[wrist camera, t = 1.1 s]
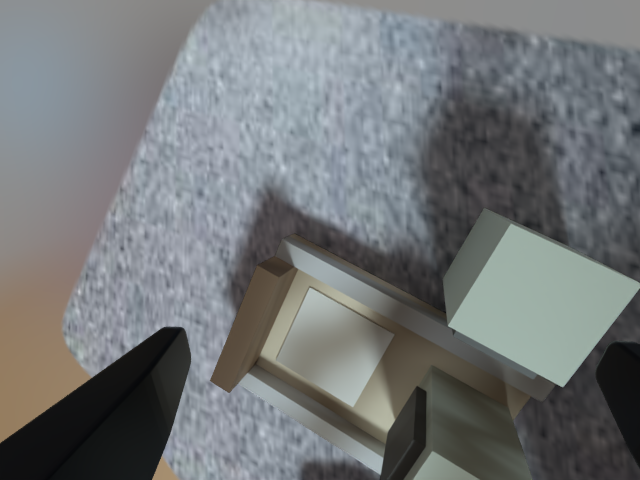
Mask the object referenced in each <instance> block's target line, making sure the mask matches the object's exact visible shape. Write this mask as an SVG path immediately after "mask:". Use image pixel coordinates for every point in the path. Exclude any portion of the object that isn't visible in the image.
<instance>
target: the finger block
mask: <svg viewBox="0 0 640 480" xmlns="http://www.w3.org/2000/svg"><path fill="white" fill-rule="evenodd" d="M443 288H444V297H445V306H446V315H447V323H448V326H449V327H451V328H452V333H453V337H455V338H457V339H459V340H461V341H463V342H464V343H466V344H468V345H470V346H472V347H474V348H476V349H477V350H479V351H481V352H483V353H485V354H487V355H489V356H490V357H492V358H494V359H496V360H498V361H500V362H502V363H503V364H505V365H507V366H509V367H511V368H513V369H514V370H516V371H518V372H520V373H522V374H524V375H526V376H527V377H529V378H531V379H533V380H534V378H535V377H536V376H537V374H538V375H540V376H542V377H544V378H546V379H548V380H550V381H552V382H553V383H555V384H557V385H559V386H561V387H564V386H565V384H566V383H567V382H568V380H569V379H570V378H571V377H572V375H573V374H574V373H575V371H576V370H577V369H578V368H579V366H580V365H581V364H582V362H583V361H584V360H585V358H586V357H587V356H588V355H589V353H590V352H591V351H592V349H593V348H594V347H595V346H596V344H597V343H598V342H599V340H600V339H601V338H602V336H603V335H604V334H605V333H606V331H607V330H608V329H609V327H610V326H611V325H612V324H613V322H614V321H615V320H616V318H617V317H618V316H619V315H620V313H621V312H622V311H623V309H624V308H625V307H626V305H627V304H628V303H629V302H630V300H631V299H632V298H633V296H634V295H635V294H636V293H637V291H638V290H639V289H640V283H639V282H637V281H635V280H633V279H631V278H629V277H627V276H625V275H624V274H622V273H620V272H618V271H616V270H614V269H612V268H610V267H608V266H606V265H604V264H602V263H600V262H598V261H596V260H594V259H592V258H590V257H588V256H586V255H584V254H583V253H581V252H579V251H577V250H575V249H573V248H571V247H569V246H567V245H564V244H562V243H560V242H558V241H556V240H554V239H551V238H549V237H547V236H545V235H543V234H541V233H538V232H536V231H534V230H532V229H530V228H527V227H525V226H523V225H521V224H519V223H517V222H514V221H512V220H510V219H508V218H506V217H504V216H501V215H499V214H497V213H495V212H493V211H490V210H488V209H486V208H484V209H483V211H482V212H481V214H480V216H479V218H478V219H477V221H476V223H475V224H474V226H473V228H472V230H471V231H470V233H469V235H468V236H467V238H466V240H465V241H464V243H463V245H462V247H461V248H460V250H459V252H458V253H457V255H456V257H455V259H454V260H453V262H452V264H451V265H450V267H449V269H448V271H447V272H446V274H445V276H444V277H443Z"/></svg>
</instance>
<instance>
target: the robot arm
mask: <svg viewBox="0 0 640 480" xmlns="http://www.w3.org/2000/svg"><path fill="white" fill-rule="evenodd" d="M190 364H191V352H190V348H189V344H188V339H187V335H186V331H185V330H184V328H182V327H163V328H162V329H160V330H159V331H157V332H156V333H154V334H153V335H152V336H150V337H149V338H147V339H146V340H145V341H143V342H142V343H140V344H139V345H138V346H136V347H135V348H133V349H132V350H130V351H129V352H128V353H126V354H125V355H123V356H122V357H121V358H119V359H118V360H116V361H115V362H114V363H112V364H111V365H109V366H108V367H107V368H105V369H104V370H102V371H101V372H100V373H98V374H97V375H95V376H94V377H92V378H91V379H90V380H88V381H87V382H86V383H84V384H83V385H81V386H80V387H78V388H77V389H76V390H74V391H73V392H71V393H70V394H69V395H67V396H66V397H64V398H63V399H62V400H60V401H59V402H57V403H56V404H55V405H53V406H52V407H50V408H49V409H47V410H46V411H45V412H43V413H42V414H41V415H39V416H38V417H36V418H35V419H33V420H32V421H31V422H29V423H28V424H26V425H25V426H24V427H22V428H21V429H19V430H18V431H17V432H15V433H14V434H12V435H11V436H9V437H8V438H7V439H5V440H4V441H2V442H1V443H0V480H152V478H153V476H154V474H155V471H156V469H157V466H158V464H159V461H160V459H161V456H162V454H163V451H164V449H165V446H166V444H167V441H168V438H169V436H170V433H171V430H172V426H173V423H174V420H175V416H176V413H177V409H178V406H179V402H180V399H181V395H182V392H183V389H184V385H185V382H186V378H187V375H188V371H189V368H190ZM595 374H596V379H597V382H598V384H599V386H600V388H601V391H602V393H603V395H604V397H605V399H606V401H607V403H608V406H609V408H610V410H611V412H612V414H613V416H614V418H615V420H616V423H617V425H618V427H619V429H620V431H621V433H622V435H623V438H624V440H625V442H626V444H627V446H628V448H629V450H630V452H631V454H632V456H633V458H634V459H635V461H636V463H637V465H638V467H639V468H640V344H638V343H635V342H626V341H614V342H611V343H610V344H609V345H608V346H607V348H606V350H605V352H604V354H603V355H602V357H601V359H600V361H599V363H598V365H597V367H596V371H595Z"/></svg>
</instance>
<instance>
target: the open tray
mask: <svg viewBox="0 0 640 480" xmlns="http://www.w3.org/2000/svg"><path fill="white" fill-rule="evenodd" d="M210 381H211V382H213V383H214V384H216V385H217V386H219V387H220V388H222V389H223V390H225V391H227V392H228V393H230V392H231V391H232V389H233V388H234V387H235V386H236V385H237V384H239V385H241V386H242V387H244V388H245V389H247V390H248V391H250V392H252V393H253V394H255V395H256V396H258V397H259V398H261V399H263V400H264V401H266V402H267V403H269V404H270V405H272V406H274V407H275V408H277V409H278V410H280V411H281V412H283V413H284V414H286V415H288V416H289V417H291V418H292V419H294V420H295V421H297V422H299V423H300V424H302V425H303V426H305V427H306V428H308V429H310V430H311V431H313V432H314V433H316V434H317V435H319V436H321V437H322V438H324V439H325V440H327V441H328V442H330V443H331V444H333V445H335V446H336V447H338V448H339V449H341V450H342V451H344V452H346V453H347V454H349V455H350V456H352V457H353V458H355V459H357V460H358V461H360V462H361V463H363V464H364V465H366V466H367V467H369V468H371V469H372V470H374V471H375V472H377V473H378V474H380V475H381V476H380V480H533V479H532V476H531V473H530V470H529V467H528V464H527V461H526V458H525V455H524V452H523V449H522V446H521V443H520V440H519V438H518V435H517V432H516V429H515V426H514V423H513V420H514V419H515V417H516V416H517V415H518V413H519V412H520V411H521V409H522V408H523V407H524V405H525V404H526V403H527V401H528V400H529V399H530V397H531V396H532V397H533V398H535V399H537V400H539V401H541V402H543V401H544V400H545V398H546V397H547V396H548V395H549V393H550V392H551V391H552V389H553V388H554V387H555V384H554V383H553V382H552V381H550V380H548V379H546V378H544V377H542V376H540V375H538V374H537V376H536V377H535V378H534V380H533V379H531V378H529V377H527V376H526V375H524V374H522V373H520V372H518V371H516V370H514V369H513V368H511V367H509V366H507V365H505V364H503V363H502V362H500V361H498V360H496V359H494V358H492V357H490V356H489V355H487V354H485V353H483V352H481V351H479V350H477V349H476V348H474V347H472V346H470V345H468V344H466V343H464V342H463V341H461V340H459V339H457V338H455V337H453V333H452V328H451V327H449V326H448V323H447V315H446V313H444V312H442V311H440V310H439V309H437V308H435V307H433V306H431V305H429V304H427V303H425V302H423V301H421V300H420V299H418V298H416V297H414V296H412V295H410V294H408V293H406V292H404V291H402V290H401V289H399V288H397V287H395V286H393V285H391V284H389V283H387V282H385V281H383V280H382V279H380V278H378V277H376V276H374V275H372V274H370V273H368V272H366V271H365V270H363V269H361V268H359V267H357V266H355V265H353V264H351V263H349V262H347V261H346V260H344V259H342V258H340V257H338V256H336V255H334V254H332V253H330V252H328V251H327V250H325V249H323V248H321V247H319V246H317V245H315V244H313V243H311V242H310V241H308V240H306V239H304V238H302V237H300V236H298V235H296V234H292V235H290V236H288V237H285V238H283V239H282V240H281V242H280V245H279V247H278V249H277V252H276V254H275V256H274V257H272V258H270V259H268V260H266V261H264V262H262V263H260V264H259V265H257V267H256V269H255V272H254V274H253V277H252V279H251V281H250V284H249V286H248V289H247V291H246V294H245V296H244V299H243V301H242V304H241V306H240V308H239V311H238V313H237V316H236V318H235V321H234V323H233V326H232V328H231V330H230V333H229V335H228V338H227V340H226V343H225V345H224V348H223V350H222V353H221V355H220V357H219V360H218V362H217V365H216V367H215V370H214V372H213V375H212V377H211V380H210Z"/></svg>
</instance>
